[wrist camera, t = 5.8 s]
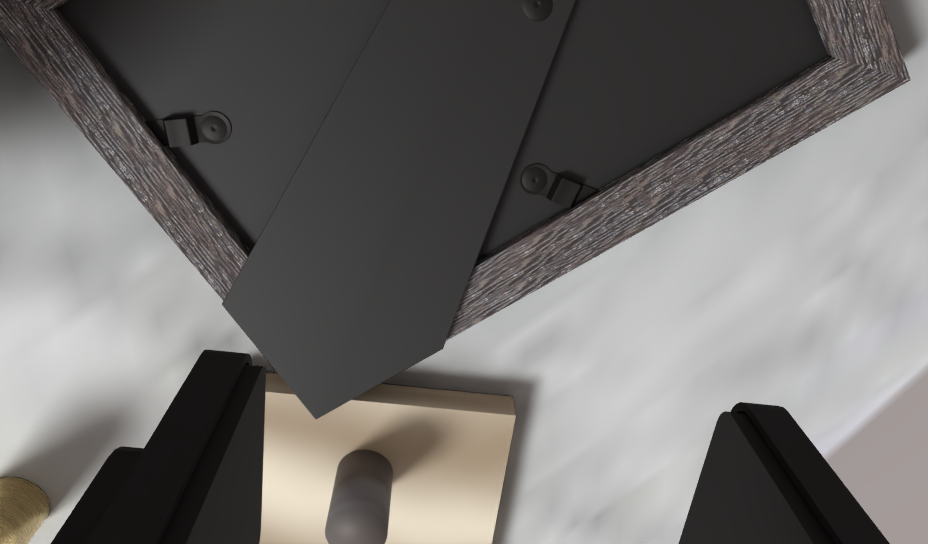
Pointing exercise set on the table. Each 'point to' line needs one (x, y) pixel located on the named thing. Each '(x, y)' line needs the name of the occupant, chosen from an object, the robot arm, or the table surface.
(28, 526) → the brass pin
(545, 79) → the picture frame
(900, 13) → the table surface
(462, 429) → the board
